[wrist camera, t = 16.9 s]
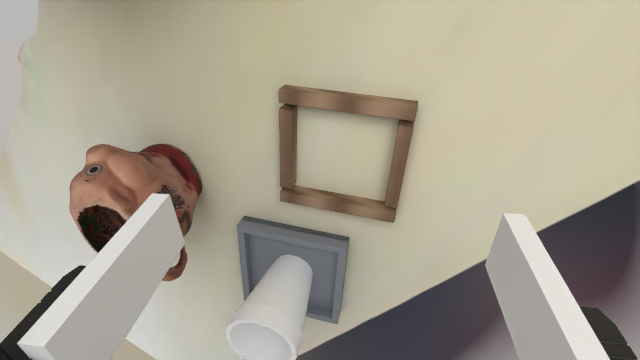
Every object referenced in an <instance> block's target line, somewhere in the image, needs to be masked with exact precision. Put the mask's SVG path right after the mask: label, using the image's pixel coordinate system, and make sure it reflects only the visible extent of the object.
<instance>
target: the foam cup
mask: <svg viewBox="0 0 640 360" xmlns="http://www.w3.org/2000/svg"><path fill="white" fill-rule="evenodd" d="M312 277H313V273H312V268H311V267H310V266H309V264H308V263H307V262H306V261H304V260H303V259H301V258H300V257H297V256H293V255H282V256H280V257H279V258H277V259H276V261H275V262H274V263H273V264H272V265H271V267H270V268H269V269H268V271H267V272H266V273H265V275H264V276H263V277H262V279H261V280H260V281H259V283H258V284H257V285H256V287H255V288H254V289H253V291H252V292H251V293H250V295H249V296H248V297H247V299H246V300H245V302H244V303H243V304H242V306H241V307H240V308H239V309H237V310H236V311H235V313H234V315H233V317H232V319H231V320H230V322H229V324H228V326H227V329H226V333H225V336H226V338H227V341H228V343H229V345H230V347H231V348H232V349H233V350H234V351H235V352H236V353H237V354H238V355H239V356H241V357H242V358H244V359H246V360H295V359H296V358H297V355H298V352H299V349H300V346H301V343H302V332H303V326H304V321H305V316H306V310H307V305H308V300H309V294H310V289H311V284H312Z"/></svg>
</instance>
